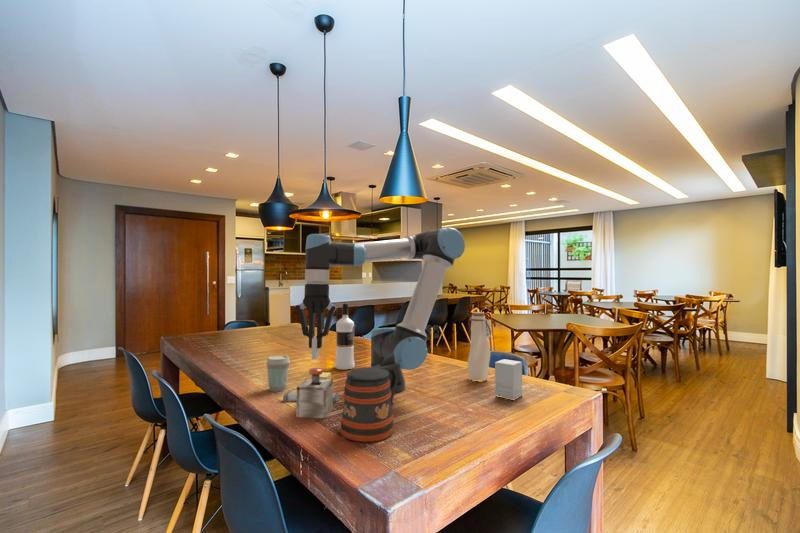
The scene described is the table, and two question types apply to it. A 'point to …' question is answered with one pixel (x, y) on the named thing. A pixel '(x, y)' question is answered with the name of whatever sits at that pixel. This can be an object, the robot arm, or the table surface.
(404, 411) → the table surface
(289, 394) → the rail
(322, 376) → the carriage
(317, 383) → the plunger
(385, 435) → the beer stein
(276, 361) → the coffee cup
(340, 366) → the vodka
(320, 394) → the grey open box
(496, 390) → the supplement box
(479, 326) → the water bottle
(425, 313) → the robot arm
